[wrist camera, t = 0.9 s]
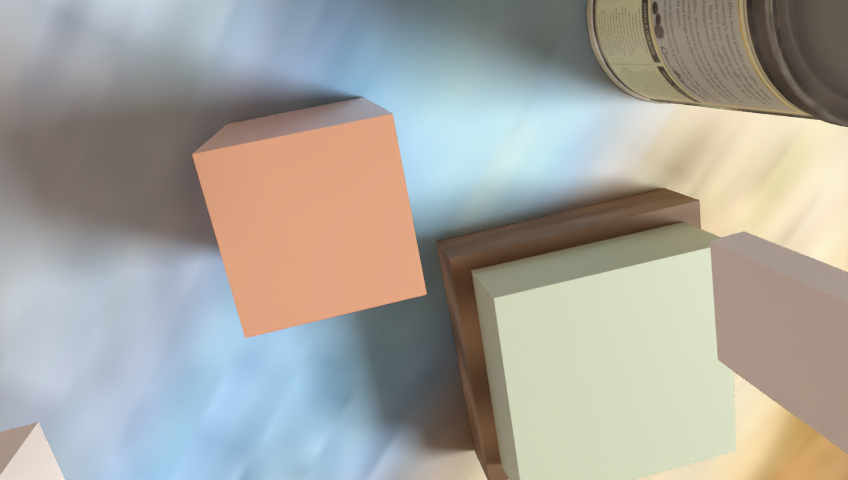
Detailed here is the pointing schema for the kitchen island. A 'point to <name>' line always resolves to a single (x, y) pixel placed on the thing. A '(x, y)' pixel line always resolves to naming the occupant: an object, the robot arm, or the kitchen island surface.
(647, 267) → the sage block
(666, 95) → the coffee can
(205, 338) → the kitchen island surface
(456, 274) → the walnut block
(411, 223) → the terracotta block
